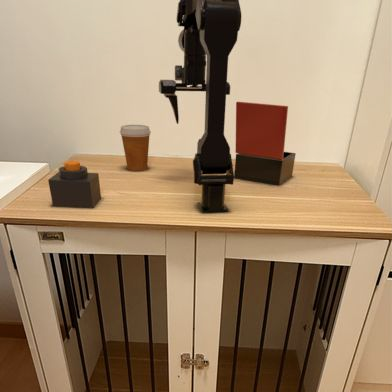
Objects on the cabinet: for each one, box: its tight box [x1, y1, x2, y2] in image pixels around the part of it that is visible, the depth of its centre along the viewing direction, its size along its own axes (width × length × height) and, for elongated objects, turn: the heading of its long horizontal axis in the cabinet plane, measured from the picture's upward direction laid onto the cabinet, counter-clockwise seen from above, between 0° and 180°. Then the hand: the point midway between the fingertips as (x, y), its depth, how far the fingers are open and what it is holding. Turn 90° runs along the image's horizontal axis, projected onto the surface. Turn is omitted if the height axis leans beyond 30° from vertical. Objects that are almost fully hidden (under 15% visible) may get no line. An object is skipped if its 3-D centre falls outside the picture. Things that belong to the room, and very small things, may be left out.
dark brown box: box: [234, 151, 296, 186], centre depth 126 cm, size 13×15×7 cm
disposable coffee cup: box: [119, 124, 152, 172], centre depth 129 cm, size 10×10×12 cm
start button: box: [63, 160, 81, 171], centre depth 98 cm, size 4×4×2 cm
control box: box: [47, 165, 102, 209], centre depth 101 cm, size 10×8×8 cm
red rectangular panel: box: [235, 101, 289, 159], centre depth 114 cm, size 13×15×1 cm
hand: (193, 123), depth 115 cm, fingers open, 9 cm apart
